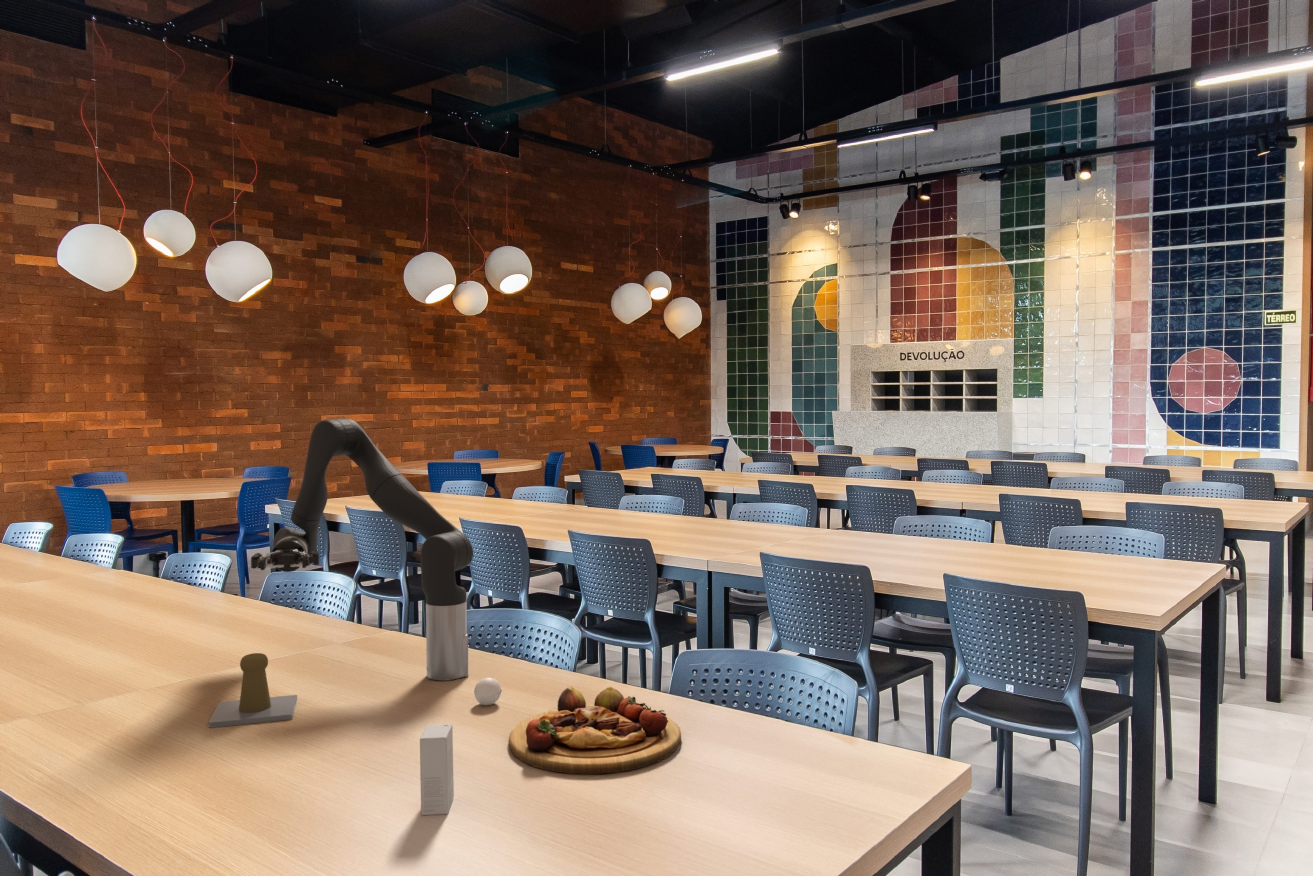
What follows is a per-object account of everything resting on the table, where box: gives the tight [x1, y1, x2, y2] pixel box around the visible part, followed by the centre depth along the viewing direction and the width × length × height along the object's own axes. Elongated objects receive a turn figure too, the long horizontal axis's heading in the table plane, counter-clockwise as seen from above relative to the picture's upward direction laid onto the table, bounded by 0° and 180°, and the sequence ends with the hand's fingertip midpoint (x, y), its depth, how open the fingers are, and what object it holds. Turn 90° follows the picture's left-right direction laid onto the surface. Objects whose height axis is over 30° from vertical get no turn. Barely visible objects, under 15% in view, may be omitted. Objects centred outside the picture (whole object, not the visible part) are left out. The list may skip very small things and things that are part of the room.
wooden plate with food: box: [508, 686, 682, 775], centre depth 164 cm, size 32×32×8 cm
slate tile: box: [208, 694, 298, 728], centre depth 180 cm, size 15×13×1 cm
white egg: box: [473, 677, 502, 706], centre depth 186 cm, size 8×6×6 cm
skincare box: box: [419, 723, 455, 816], centre depth 137 cm, size 6×4×12 cm
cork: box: [239, 652, 271, 713], centre depth 180 cm, size 6×6×11 cm
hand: (283, 564), depth 194 cm, fingers open, 8 cm apart
